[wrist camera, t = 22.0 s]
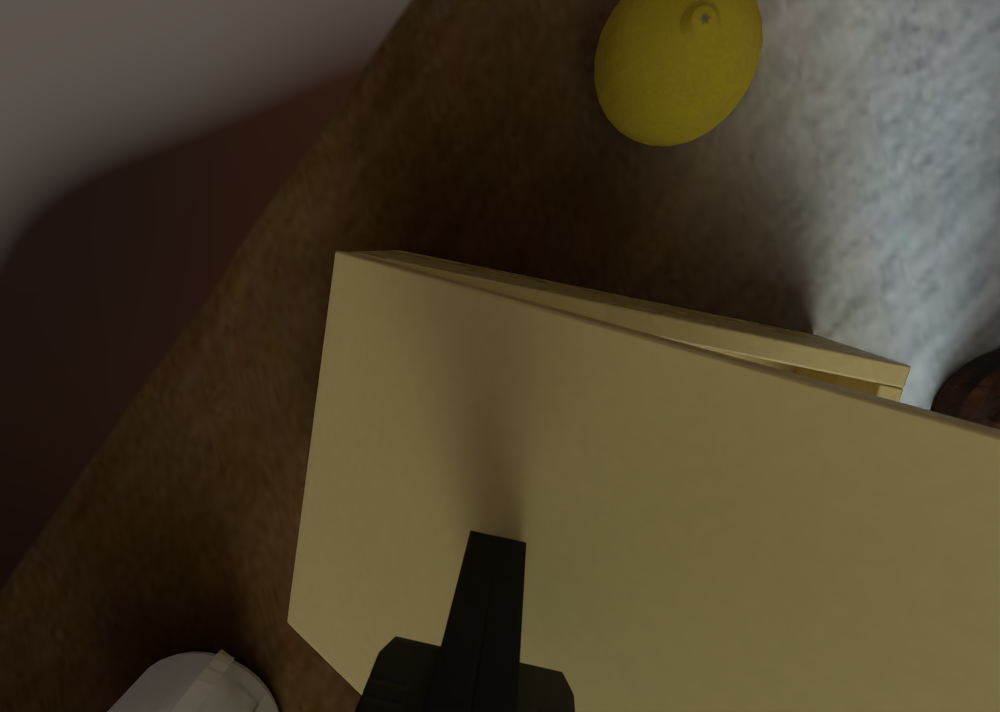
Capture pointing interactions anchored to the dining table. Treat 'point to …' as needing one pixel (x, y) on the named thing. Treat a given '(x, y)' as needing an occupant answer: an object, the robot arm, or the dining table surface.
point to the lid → (642, 510)
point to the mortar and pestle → (974, 392)
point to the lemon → (675, 66)
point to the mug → (197, 686)
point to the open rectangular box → (684, 326)
